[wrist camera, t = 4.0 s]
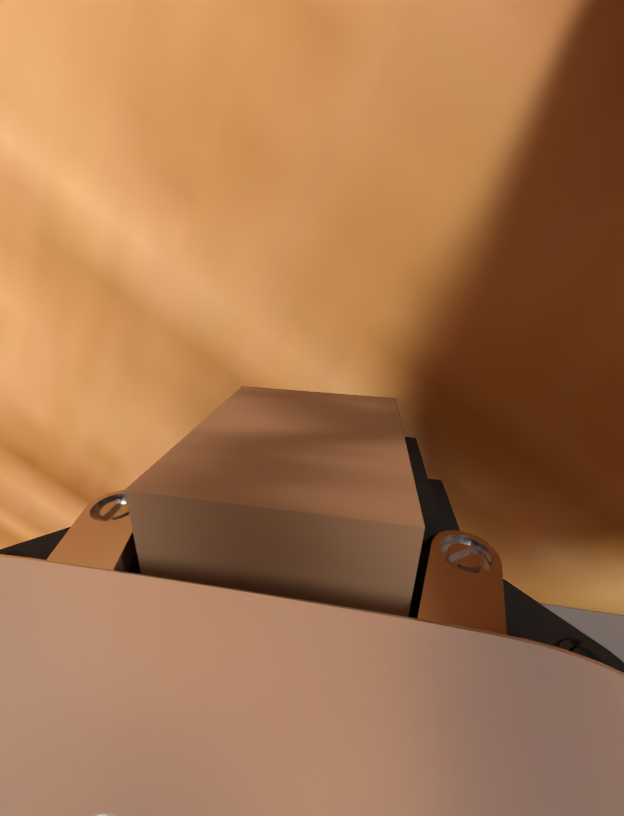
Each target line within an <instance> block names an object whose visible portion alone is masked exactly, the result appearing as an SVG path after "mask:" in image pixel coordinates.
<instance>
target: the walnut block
mask: <svg viewBox="0 0 624 816" xmlns="http://www.w3.org/2000/svg"><path fill="white" fill-rule="evenodd" d="M125 494H126V499H127V504H128V510H129V515H130V520H131V525H132V530H133V535H134V540H135V545H136V550H137V555H138V561H139V566H140V571H141V574H142V575H149V576H155V577H162V578H168V579H175V580H181V581H188V582H194V583H200V584H207V585H213V586H220V587H226V588H232V589H239V590H245V591H251V592H257V593H264V594H270V595H276V596H283V597H289V598H295V599H301V600H307V601H314V602H320V603H326V604H332V605H338V606H344V607H350V608H356V609H362V610H368V611H375V612H381V613H387V614H393V615H399V616H405V617H408V615H409V610H410V605H411V599H412V594H413V589H414V583H415V578H416V573H417V568H418V562H419V557H420V552H421V546H422V541H423V536H424V530H425V525H424V521H423V516H422V512H421V508H420V503H419V499H418V494H417V490H416V486H415V481H414V477H413V472H412V468H411V464H410V459H409V455H408V450H407V446H406V442H405V437H404V433H403V429H402V424H401V420H400V415H399V411H398V407H397V402H396V398H383V397H371V396H358V395H345V394H333V393H320V392H307V391H295V390H282V389H269V388H256V387H244V386H242V387H241V388H240V389H239V390H238V391H237V392H236V393H234V394H233V395H232V396H231V397H230V398H229V399H228V400H226V401H225V402H224V403H223V404H222V405H221V406H220V407H218V408H217V409H216V410H215V411H214V412H213V413H212V414H210V415H209V416H208V417H207V418H206V419H205V420H204V421H203V422H201V423H200V424H199V425H198V426H197V427H196V428H195V429H193V430H192V431H191V432H190V433H189V434H188V435H187V436H185V437H184V438H183V439H182V440H181V441H180V442H179V443H178V444H176V445H175V446H174V447H173V448H172V449H171V450H170V451H168V452H167V453H166V454H165V455H164V456H163V457H162V458H160V459H159V460H158V461H157V462H156V463H155V464H154V465H152V466H151V467H150V468H149V469H148V470H147V471H146V472H145V473H143V474H142V475H141V476H140V477H139V478H138V479H137V480H135V481H134V482H133V483H132V484H131V485H130V486H129V487H127V488H126V489H125Z"/></svg>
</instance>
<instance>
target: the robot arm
mask: <svg viewBox="0 0 624 816" xmlns="http://www.w3.org/2000/svg"><path fill="white" fill-rule="evenodd" d="M405 442H406V446H407V450H408V455H409V459H410V464H411V468H412V472H413V477H414V481H415V486H416V490H417V494H418V499H419V503H420V508H421V512H422V516H423V521H424V525H425V530H424V536H423V541H422V546H421V552H420V557H419V562H418V568H417V573H416V578H415V583H414V589H413V594H412V599H411V605H410V610H409V615H408V617H405V616H399V615H393V614H387V613H381V612H375V611H368V610H362V609H356V608H350V607H344V606H338V605H332V604H326V603H320V602H314V601H307V600H301V599H295V598H289V597H283V596H276V595H270V594H264V593H257V592H251V591H245V590H239V589H232V588H226V587H220V586H213V585H207V584H200V583H194V582H188V581H181V580H175V579H168V578H162V577H155V576H149V575H142V574H141V571H140V566H139V561H138V555H137V550H136V545H135V540H134V535H133V530H132V525H131V520H130V515H129V510H128V504H127V499H126V494H125V490H121V491H115V492H112V493H108V494H106V495H103V496H101V497H99V498H97V499H95V500H94V501H92V502H91V503H90V504H89V505H88V506H87V507H86V508H85V509H84V510H83V512H82V513H81V514H80V516H79V517H78V518H77V520H76V521H75V522H74V524H73V525H72V526H71V527H69V528H66V529H63V530H60V531H57V532H53V533H50V534H47V535H44V536H41V537H38V538H35V539H32V540H29V541H25V542H22V543H19V544H16V545H13V546H10V547H7V548H4V549H1V550H0V816H624V662H623V661H622V660H621V659H619V658H618V657H617V656H615V655H614V654H613V653H612V652H610V651H609V650H608V649H606V648H605V647H603V646H602V645H600V644H599V643H598V642H596V641H595V640H593V639H592V638H590V637H589V636H587V635H586V634H584V633H583V632H581V631H580V630H578V629H577V628H575V627H574V626H572V625H571V624H569V623H568V622H566V621H565V620H563V619H562V618H560V617H559V616H558V615H556V614H555V613H553V612H552V611H550V610H549V609H547V608H546V607H544V606H543V605H541V604H540V603H538V602H537V601H535V600H534V599H532V598H531V597H529V596H528V595H526V594H525V593H523V592H522V591H520V590H519V589H518V588H516V587H515V586H513V585H512V584H510V583H509V582H507V581H506V580H504V579H503V574H502V563H501V560H500V556H499V555H498V553H497V552H496V551H495V549H494V548H493V547H492V546H490V545H489V544H488V543H487V542H486V541H484V540H482V539H481V538H479V537H477V536H475V535H472V534H470V533H467V532H463V531H460V530H459V527H458V524H457V522H456V519H455V516H454V513H453V511H452V508H451V505H450V502H449V499H448V497H447V494H446V491H445V488H444V486H443V483H442V481H441V480H434V479H428V478H427V474H426V471H425V468H424V464H423V461H422V457H421V454H420V451H419V447H418V444H417V441H416V438H411V437H405Z"/></svg>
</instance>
